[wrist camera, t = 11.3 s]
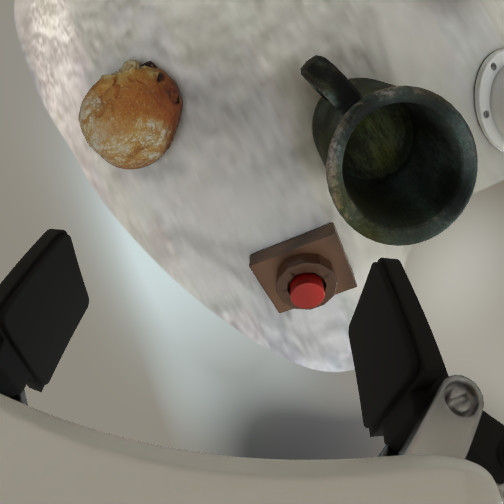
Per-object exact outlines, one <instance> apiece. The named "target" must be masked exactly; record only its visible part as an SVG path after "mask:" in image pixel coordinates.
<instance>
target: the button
mask: <svg viewBox="0 0 504 504" xmlns="http://www.w3.org/2000/svg"><path fill="white" fill-rule="evenodd" d="M290 297H291V301H292V302H293V304H294V305H296V306H297V307H300V308H313V307H316V306H318V305H319V304H320V303H321V302H322V301H323V299H324V297H325V292H324V286H323V281H322V279H321V278H320V277H319V276H318V275H316V274H313V273H302V274H300V275H297V276H296V277H295V278H294V279H293V280H292V281H291V283H290Z"/></svg>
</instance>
